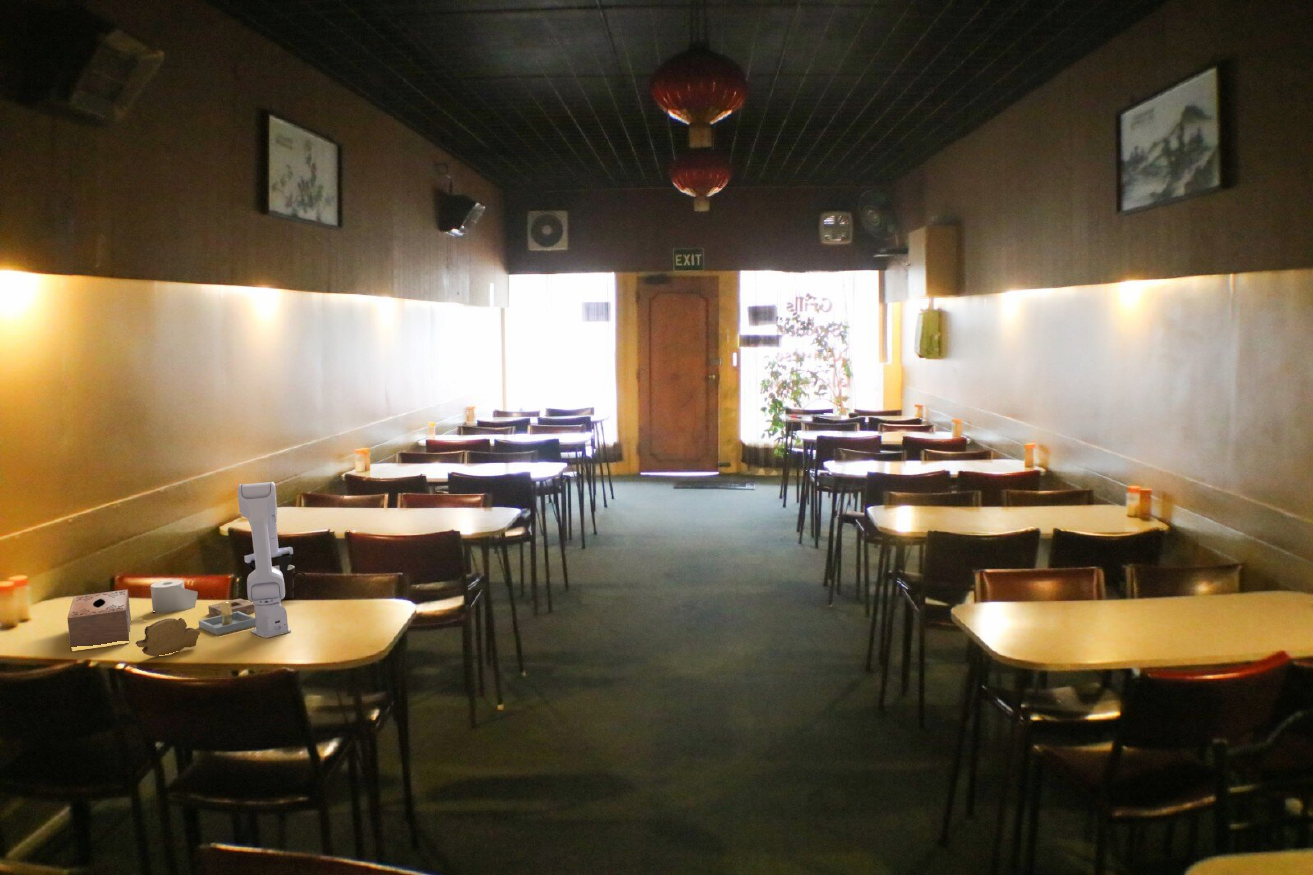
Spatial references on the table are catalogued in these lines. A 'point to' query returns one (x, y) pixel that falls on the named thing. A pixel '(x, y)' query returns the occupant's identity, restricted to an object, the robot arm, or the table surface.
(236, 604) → the socket block
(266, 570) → the robot arm
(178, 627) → the wooden carving
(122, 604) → the tissue box cover
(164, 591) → the toilet tissue
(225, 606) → the brass pin
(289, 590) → the coffee mug
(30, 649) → the table surface
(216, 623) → the tray
